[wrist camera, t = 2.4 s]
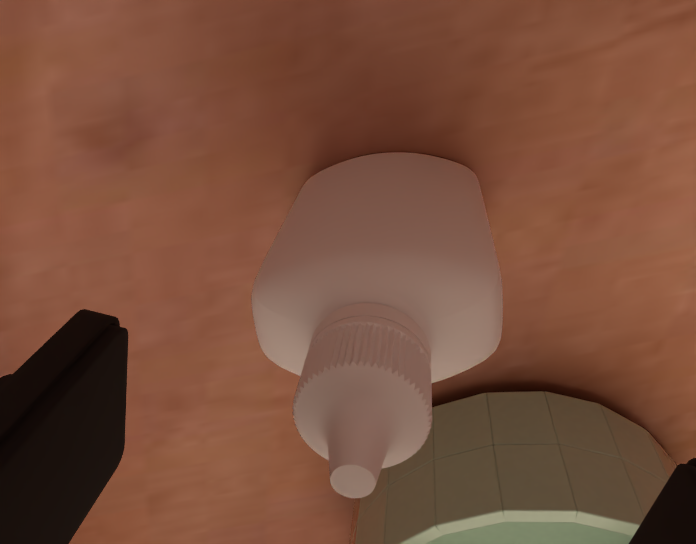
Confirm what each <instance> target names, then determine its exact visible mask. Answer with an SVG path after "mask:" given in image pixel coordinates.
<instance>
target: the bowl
mask: <svg viewBox="0 0 696 544" xmlns="http://www.w3.org/2000/svg"><path fill="white" fill-rule="evenodd" d="M676 467H677V465H676V463H675V462H674V461H673V459H672V458H671V457H670V456H669V455H668V454H667V453H666V452H665V450H664V449H663V448H662V447H661V446H660V445H659V444H658V442H657V441H656V440H655V439H654V438H653V437H652V436H651V434H650V433H649V432H648V431H647V430H645V429H644V428H642V427H641V426H639V425H637V424H635V423H633V422H632V421H630V420H628V419H626V418H624V417H623V416H621V415H619V414H617V413H615V412H614V411H612V410H610V409H608V408H606V407H605V406H603V405H600V404H599V403H595V402H590V401H586V400H582V399H577V398H573V397H569V396H564V395H560V394H556V393H551V392H547V391H544V392H543V391H526V392H487V393H481V394H478V395H474V396H471V397H467V398H463V399H460V400H456V401H453V402H449V403H446V404H442V405H438V406H435V407H433V408H432V422H431V428H430V433H429V434H428V438H427V439H426V440H425V443H424V444H423V445H422V446H421V448H420V449H419V450H417V453H415V454H413V456H412V457H410V458H408V459H407V460H405V461H403V462H401V463H399V464H396V465H394V466H391V467H387V468H382V469H381V471H380V474H379V477H378V480H377V483H376V486H375V488H374V490H373V491H372V493H370V494H369V495H367V496H365V497H362V498H355V500H354V508H353V516H352V524H351V531H350V539H349V544H629V542H630V541H631V539H632V537H633V536H634V534H635V533H636V531H637V529H638V528H639V526H640V524H641V523H642V521H643V520H644V518H645V516H646V515H647V513H648V512H649V510H650V508H651V507H652V505H653V504H654V502H655V500H656V499H657V497H658V495H659V494H660V492H661V491H662V489H663V487H664V486H665V484H666V483H667V481H668V479H669V478H670V476H671V475H672V473H673V471H674V470H675V468H676Z"/></svg>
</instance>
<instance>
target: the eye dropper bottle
mask: <svg viewBox="0 0 696 544" xmlns="http://www.w3.org/2000/svg"><path fill="white" fill-rule="evenodd" d="M251 302H252V312H253V318H254V324H255V329H256V333H257V337H258V341H259V344H260V347H261V349H262V350H263V352H264V354H265V355H266V357H267V358H268V359H270V360H271V361H272V362H274V363H275V364H276V365H278V366H280V367H282V368H284V369H286V370H288V371H290V372H292V373H294V374H297V375H299V376H300V380H299V383H298V387H297V390H296V393H295V397H294V401H293V403H294V404H293V407H292V408H293V415H294V418H293V419H294V421H295V425H296V427H297V428H298V429H297V430H298V432H299V433H300V436H301V437H302V438H303V439H304V441H305V442H306V443H307V444H308V446H309V447H310V448H312V450H314V451H315V452H316V453H317V454H319V455H320V456H322V457H323V458H325V459H327V460H329V471H330V483H331V485H332V487H333V489H334V490H335V491H336V492H337V493H339V494H341V495H343V496H345V497H349V498H362V497H365V496H367V495H369V494H370V493H372V491H373V490H374V488H375V486H376V483H377V480H378V477H379V474H380V471H381V469H382V468H387V467H391V466H394V465H396V464H399V463H401V462H403V461H405V460H407V459H408V458H410V457H412V456H413V454H415V453H417V450H419V449H420V448H421V446H422V445H423V444H424V443H425V440H426V439H427V438H428V434H429V433H430V428H431V422H432V383H435V382H438V381H441V380H444V379H446V378H449V377H452V376H454V375H457V374H459V373H461V372H463V371H466V370H468V369H470V368H472V367H474V366H476V365H477V364H479V363H481V362H483V361H485V360H486V359H487V358H488V357H489V356H491V355H492V354H493V353H494V352H495V351H496V349H497V347H498V344H499V342H500V340H501V336H502V323H503V294H502V279H501V273H500V268H499V263H498V258H497V254H496V250H495V246H494V242H493V237H492V233H491V229H490V225H489V221H488V217H487V212H486V208H485V204H484V200H483V196H482V192H481V188H480V185H479V182H478V179H477V176H476V174H475V173H474V172H473V171H471V170H470V169H469V168H468V167H466V166H464V165H461V164H459V163H457V162H453V161H450V160H447V159H443V158H439V157H436V156H430V155H425V154H418V153H407V152H389V153H377V154H371V155H365V156H361V157H357V158H353V159H349V160H346V161H343V162H340V163H338V164H335V165H333V166H330V167H328V168H326V169H324V170H322V171H320V172H318V173H317V174H315V175H313V176H312V177H310V178H309V179H308V180H307V181H306V183H305V184H304V185H303V187H302V188H301V190H300V192H299V194H298V196H297V198H296V200H295V201H294V203H293V205H292V207H291V209H290V211H289V213H288V215H287V216H286V218H285V220H284V222H283V224H282V226H281V228H280V230H279V232H278V234H277V236H276V237H275V239H274V241H273V243H272V245H271V247H270V249H269V251H268V253H267V255H266V257H265V259H264V261H263V263H262V265H261V267H260V269H259V272H258V274H257V276H256V278H255V281H254V285H253V290H252V295H251Z"/></svg>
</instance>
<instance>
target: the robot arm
mask: <svg viewBox="0 0 696 544" xmlns="http://www.w3.org/2000/svg"><path fill="white" fill-rule="evenodd" d="M127 356H128V331H127V329H126V328H122V327H120V324H119V320H118V318H116V317H114V316H110V315H106V314H102V313H98V312H93V311H89V310H85V309H84V310H80V311H79V312H77V313H76V314H75V315H74V316H73V317H72V318H71V319H70V320H69V321H68V322H67V323H66V324H65V325H64V326H63V327H62V328H60V329H59V330H58V331H57V332H56V333H55V334H54V335H53V336H52V337H51V338H50V339H49V340H48V341H47V342H46V343H45V344H44V345H43V346H42V347H41V348H40V349H39V350H38V351H36V352H35V353H34V354H33V355H32V356H31V357H30V358H29V359H28V360H27V361H26V362H25V363H24V364H23V365H22V366H21V367H20V368H19V369H18V370H17V371H16V372H15V373H14V374H9V375H6V376H3V377H1V378H0V544H69V542H70V540H71V539H72V537H73V536H74V534H75V533H76V531H77V529H78V528H79V526H80V525H81V523H82V522H83V520H84V518H85V517H86V515H87V514H88V512H89V511H90V509H91V508H92V506H93V504H94V503H95V501H96V500H97V498H98V497H99V495H100V493H101V492H102V490H103V489H104V487H105V486H106V484H107V482H108V481H109V479H110V478H111V476H112V475H113V473H114V471H115V470H116V468H117V467H118V465H119V463H120V460H121V458H122V455H123V451H124V444H125V415H126V385H127ZM629 544H696V458H693V459H691V460H689V461H688V463H687V464H680V465H678V466H677V467H676V468H675V470H674V471H673V473H672V475H671V476H670V478H669V479H668V481H667V483H666V484H665V486H664V487H663V489H662V491H661V492H660V494H659V495H658V497H657V499H656V500H655V502H654V504H653V505H652V507H651V508H650V510H649V512H648V513H647V515H646V516H645V518H644V520H643V521H642V523H641V524H640V526H639V528H638V529H637V531H636V533H635V534H634V536H633V537H632V539H631V541H630V542H629Z"/></svg>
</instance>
